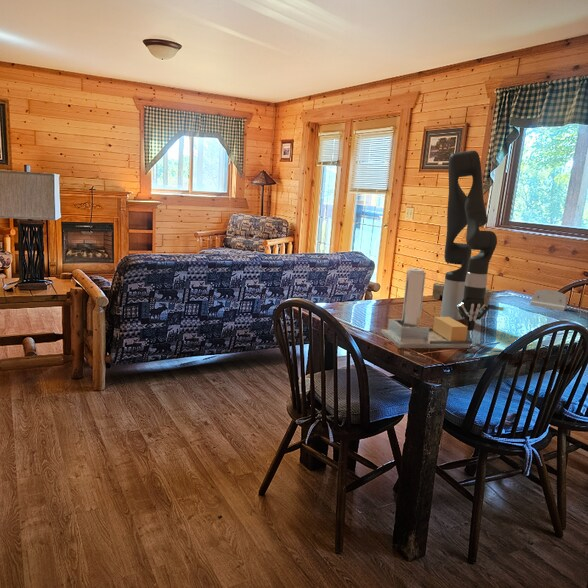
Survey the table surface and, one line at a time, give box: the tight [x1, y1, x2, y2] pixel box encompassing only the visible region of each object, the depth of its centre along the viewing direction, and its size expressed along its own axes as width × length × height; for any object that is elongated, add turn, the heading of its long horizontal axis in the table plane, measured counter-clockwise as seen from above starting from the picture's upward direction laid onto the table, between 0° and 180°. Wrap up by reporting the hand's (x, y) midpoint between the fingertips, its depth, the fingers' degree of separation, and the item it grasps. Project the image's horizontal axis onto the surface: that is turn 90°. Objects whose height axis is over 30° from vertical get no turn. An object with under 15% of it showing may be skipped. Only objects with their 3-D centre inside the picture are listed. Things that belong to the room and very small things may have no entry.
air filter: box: [401, 267, 427, 327], centre depth 182 cm, size 6×6×25 cm
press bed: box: [380, 318, 473, 349], centre depth 185 cm, size 28×18×6 cm, turn 101°
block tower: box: [431, 282, 494, 306], centre depth 259 cm, size 8×8×29 cm
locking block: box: [432, 316, 468, 341], centre depth 187 cm, size 6×14×6 cm, turn 11°
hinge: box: [529, 289, 568, 312], centre depth 259 cm, size 17×5×10 cm, turn 51°
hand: (469, 330), depth 188 cm, fingers closed
